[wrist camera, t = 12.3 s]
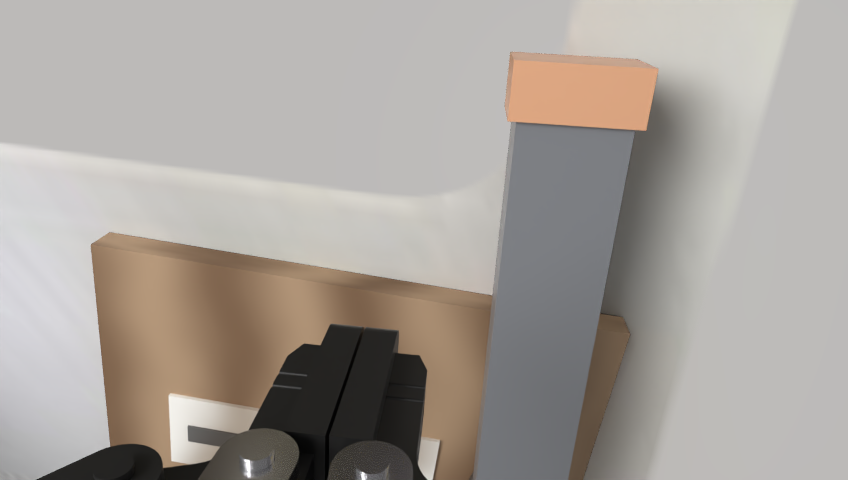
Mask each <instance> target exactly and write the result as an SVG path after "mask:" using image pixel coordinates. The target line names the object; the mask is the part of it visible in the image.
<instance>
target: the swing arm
mask: <svg viewBox="0 0 848 480" xmlns="http://www.w3.org/2000/svg"><path fill="white" fill-rule="evenodd" d="M657 74H658V68H655V67H653V66H651V65H649V64H647V63H644V62H642V61H640V60H638V59H623V58H606V57H590V56H573V55H557V54H540V53H524V52H510V61H509V71H508V79H507V89H506V99H505V110H506V115H507V120H508V121H510V122H511V130H510V139H509V148H508V157H507V167H506V176H505V185H504V194H503V204H502V213H501V222H500V231H499V241H498V250H497V259H496V268H495V277H494V287H493V296H492V305H491V314H490V324H489V333H488V342H487V351H486V360H485V370H484V379H483V388H482V397H481V407H480V416H479V425H478V434H477V444H476V453H475V462H474V471H473V473H472V474H471V476H470V478H469V480H568V477H569V472H570V467H571V462H572V457H573V451H574V446H575V441H576V436H577V431H578V425H579V420H580V415H581V410H582V405H583V399H584V394H585V389H586V384H587V379H588V373H589V368H590V363H591V358H592V353H593V347H594V342H595V337H596V332H597V327H598V321H599V316H600V311H601V306H602V301H603V295H604V290H605V285H606V280H607V275H608V270H609V264H610V259H611V254H612V249H613V244H614V238H615V233H616V228H617V223H618V218H619V212H620V207H621V202H622V197H623V192H624V186H625V181H626V176H627V171H628V166H629V160H630V155H631V150H632V145H633V140H634V134H635V130H642V131H646V129H647V124H648V119H649V114H650V109H651V104H652V99H653V94H654V89H655V84H656V79H657Z"/></svg>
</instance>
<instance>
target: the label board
mask: <svg viewBox="0 0 848 480" xmlns="http://www.w3.org/2000/svg"><path fill="white" fill-rule="evenodd" d="M91 252H92V263H93V273H94V283H95V293H96V304H97V314H98V324H99V334H100V344H101V355H102V365H103V375H104V385H105V396H106V406H107V416H108V426H109V437H110V447H112V446H116V445H121V444H141V445H145V446H148V447H151V448H152V449H154V450H155V451H157V452H158V453H159V455H160V456H161V459H162V462H163V468H166V467H174V466H181V465H189V464H196V463H201V462H206V461H209V460H211V459H212V458H213V456H214V455H215V453H216V452H217V450H218V449H219V448H220V447H221V445H222V444H223V443H225V442H226V441H227V440H228V439H230V438H231V437H233V436H235V435H237V434H239V433H242V432H244V431H248V430H249V428H250V426H251V424H252V422H253V420H254V418H255V416H256V415H257V413H258V411H259V409H260V407H261V405H262V403H263V401H264V399H265V398H266V396H267V394H268V392H269V390H270V388H271V387H272V386H273V382H274V380H275V379H276V377H277V375H278V374H279V371H280V369H281V367H282V365H283V363H284V361H285V360H286V358H287V356H288V355H289V354H291V353H292V352H293V351H295V350H296V349H297V348H299V347H300V346H301V345H303V344H304V343H305V344H314V345H321V343H322V341H323V339H324V337H325V334H326V332H327V330H328V328H329V326H330V324H341V325H351V326H361V327H364V329H365V328H366V327H372V328H382V329H391V330H399V345H398V353H402V354H411V355H420V357H421V359H422V361H423V363H424V365H425V367H426V369H427V381H426V392H425V404H424V416H423V427H422V435H421V444H420V452H419V459H418V466H419V468H420V470H421V472H422V474H423V475H424V476H425V477H426V479H427V480H469V478H470V476H471V474H472V473H473V471H474V462H475V453H476V444H477V434H478V425H479V416H480V407H481V397H482V388H483V379H484V370H485V360H486V351H487V342H488V333H489V324H490V314H491V305H492V296H491V295H485V294H479V293H473V292H467V291H461V290H455V289H449V288H443V287H436V286H430V285H424V284H418V283H412V282H406V281H400V280H394V279H388V278H382V277H376V276H370V275H364V274H358V273H352V272H346V271H340V270H334V269H328V268H322V267H316V266H310V265H304V264H297V263H291V262H285V261H279V260H273V259H267V258H261V257H255V256H249V255H243V254H237V253H231V252H225V251H219V250H213V249H207V248H201V247H195V246H189V245H183V244H177V243H171V242H165V241H158V240H152V239H146V238H140V237H134V236H128V235H122V234H116V233H110V232H109V233H108V234H106V235H105V236H103V237H102V238H100V239H99V240H97V241H96V242H94V243H92V244H91ZM629 337H630V333H629V330H628V328H627V326H626V323H625V321H624V319H623V317H618V316H612V315H606V314H600V316H599V321H598V327H597V332H596V337H595V342H594V347H593V353H592V358H591V363H590V368H589V373H588V379H587V384H586V389H585V394H584V399H583V405H582V410H581V415H580V420H579V425H578V431H577V436H576V441H575V446H574V451H573V457H572V462H571V467H570V472H569V477H568V480H583V477H584V474H585V471H586V468H587V465H588V462H589V459H590V456H591V453H592V450H593V447H594V444H595V441H596V438H597V435H598V432H599V428H600V425H601V422H602V419H603V416H604V413H605V410H606V407H607V404H608V401H609V398H610V395H611V392H612V389H613V386H614V383H615V379H616V376H617V373H618V370H619V367H620V364H621V361H622V358H623V355H624V352H625V349H626V346H627V343H628V340H629Z"/></svg>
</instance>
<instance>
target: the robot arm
mask: <svg viewBox="0 0 848 480" xmlns="http://www.w3.org/2000/svg"><path fill="white" fill-rule="evenodd" d="M398 345H399V330H391V329H382V328H372V327H366V328H365V329H364V327H361V326H351V325H341V324H330V326H329V328H328V330H327V332H326V334H325V337H324V339H323V341H322V343H321V345H314V344H305V343H304V344H303V345H301V346H300V347H299V348H297V349H296V350H295V351H293V352H292V353H291V354H289V355H288V356H287V358H286V360H285V361H284V363H283V365H282V367H281V369H280V371H279V374H278V375H277V377H276V379H275V380H274V382H273V386H272V387H271V388H270V390H269V392H268V394H267V396H266V398H265V399H264V401H263V403H262V405H261V407H260V409H259V411H258V413H257V415H256V416H255V418H254V420H253V422H252V424H251V426H250V428H249V430H248V431H244V432H242V433H239V434H237V435H235V436H233V437H231V438H230V439H228V440H227V441H226V442H225V443H223V444H222V445H221V447H220V448H219V449H218V450H217V452H216V453H215V455H214V456H213V458H212V459H211V460H209V461H206V462H201V463H196V464H189V465H181V466H174V467H166V468H163V462H162V459H161V456H160V455H159V453H158V452H157V451H155V450H154V449H152V448H151V447H148V446H145V445H141V444H121V445H116V446H112V447H108V448H105V449H103V450H100V451H98V452H95V453H93V454H91V455H89V456H87V457H85V458H82V459H80V460H78V461H76V462H74V463H72V464H69V465H67V466H65V467H63V468H61V469H58V470H56V471H54V472H52V473H50V474H48V475H45V476H43V477H41V478H39V479H37V480H427V479H426V477H425V476H424V475H423V474H422V472H421V470H420V468H419V466H418V459H419V452H420V444H421V435H422V427H423V416H424V404H425V392H426V381H427V369H426V367H425V365H424V363H423V361H422V359H421V357H420V355H411V354H402V353H398Z"/></svg>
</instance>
